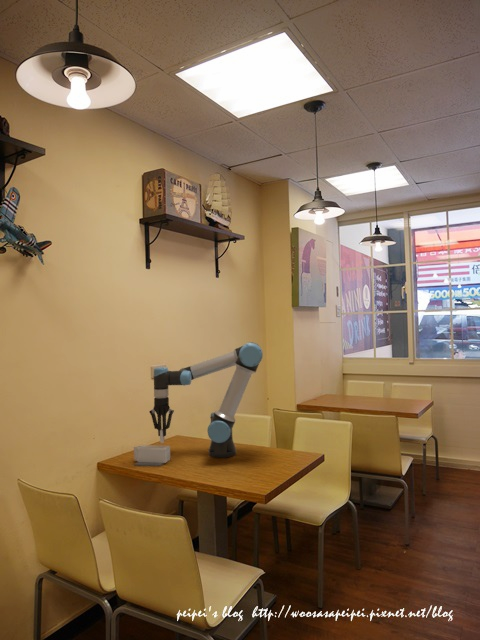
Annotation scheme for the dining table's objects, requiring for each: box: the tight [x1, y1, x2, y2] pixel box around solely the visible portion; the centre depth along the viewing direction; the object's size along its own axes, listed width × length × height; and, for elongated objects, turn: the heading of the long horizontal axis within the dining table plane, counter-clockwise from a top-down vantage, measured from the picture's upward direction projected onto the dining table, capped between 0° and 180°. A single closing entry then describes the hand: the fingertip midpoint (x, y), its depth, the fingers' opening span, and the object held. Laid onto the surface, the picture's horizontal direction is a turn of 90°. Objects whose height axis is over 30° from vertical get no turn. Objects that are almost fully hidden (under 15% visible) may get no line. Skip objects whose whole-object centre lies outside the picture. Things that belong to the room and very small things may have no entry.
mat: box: [134, 461, 165, 467], centre depth 241 cm, size 14×12×1 cm
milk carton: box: [133, 444, 171, 464], centre depth 242 cm, size 7×7×19 cm
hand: (162, 442), depth 240 cm, fingers closed
